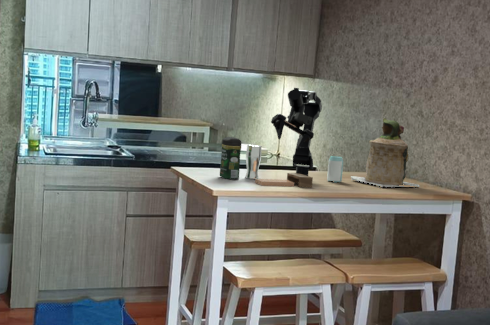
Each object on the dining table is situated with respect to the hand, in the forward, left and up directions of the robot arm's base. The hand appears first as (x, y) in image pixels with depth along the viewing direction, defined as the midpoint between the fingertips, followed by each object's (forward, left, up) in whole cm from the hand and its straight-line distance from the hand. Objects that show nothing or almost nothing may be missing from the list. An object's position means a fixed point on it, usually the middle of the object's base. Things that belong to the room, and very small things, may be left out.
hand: (288, 144), depth 281 cm
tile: (-10, 0, -19) cm, 22 cm away
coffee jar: (-26, -15, -19) cm, 36 cm away
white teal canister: (-24, +38, -19) cm, 49 cm away
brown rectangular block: (-10, +12, -19) cm, 24 cm away
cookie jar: (-19, +63, -19) cm, 68 cm away
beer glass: (-28, -3, -19) cm, 34 cm away
